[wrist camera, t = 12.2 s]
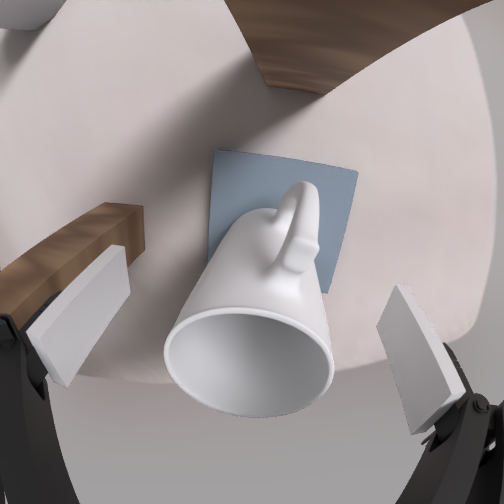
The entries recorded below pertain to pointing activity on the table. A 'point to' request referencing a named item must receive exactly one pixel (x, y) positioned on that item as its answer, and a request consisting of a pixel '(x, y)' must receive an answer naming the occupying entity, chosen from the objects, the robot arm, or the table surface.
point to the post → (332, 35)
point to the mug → (257, 316)
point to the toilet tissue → (27, 13)
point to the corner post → (68, 257)
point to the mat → (280, 198)
